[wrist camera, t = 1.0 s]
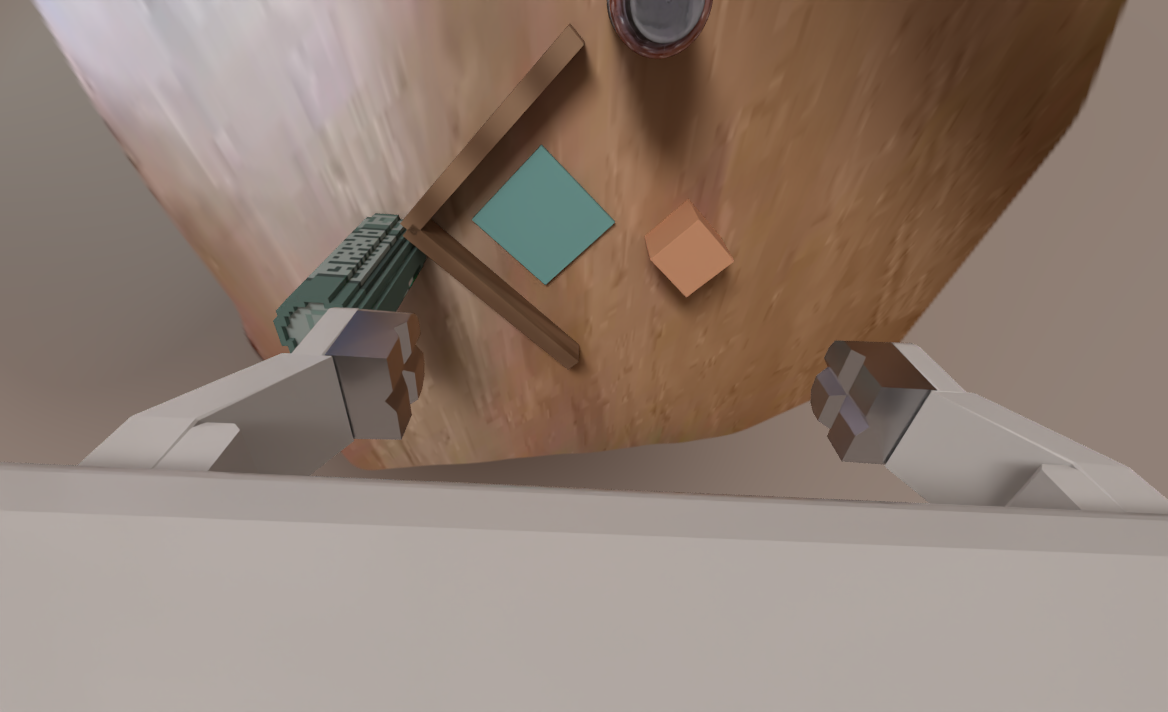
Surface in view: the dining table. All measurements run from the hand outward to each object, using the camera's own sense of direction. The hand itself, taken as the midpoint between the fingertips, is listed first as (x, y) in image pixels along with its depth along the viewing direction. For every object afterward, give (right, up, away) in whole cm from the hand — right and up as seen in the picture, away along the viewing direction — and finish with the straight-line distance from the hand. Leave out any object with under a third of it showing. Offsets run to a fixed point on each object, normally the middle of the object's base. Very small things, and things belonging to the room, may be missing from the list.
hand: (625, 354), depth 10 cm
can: (-19, +10, +36) cm, 42 cm away
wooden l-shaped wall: (-2, +12, +35) cm, 37 cm away
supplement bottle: (+4, +25, +25) cm, 36 cm away
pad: (-4, +12, +34) cm, 37 cm away
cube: (+8, +11, +36) cm, 38 cm away
